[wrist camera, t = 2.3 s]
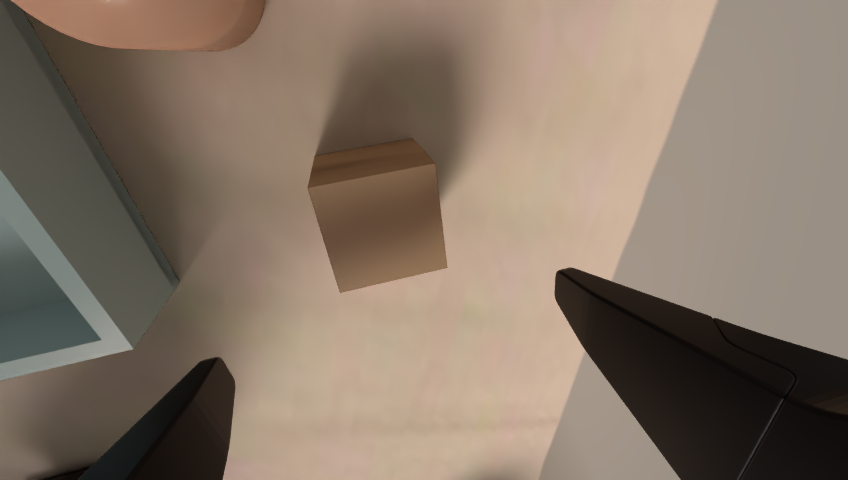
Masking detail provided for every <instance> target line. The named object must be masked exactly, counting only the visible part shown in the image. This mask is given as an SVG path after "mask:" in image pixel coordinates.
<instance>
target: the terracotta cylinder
mask: <svg viewBox="0 0 848 480" xmlns="http://www.w3.org/2000/svg"><path fill="white" fill-rule="evenodd" d="M11 1H13V2H14V3H15V4H16V5H18V6H19V7H20V8H22V9H23V10H24V11H26V12H27V13H28V14H30V15H32V16H33V17H35V18H36V19H38V20H39V21H41V22H42V23H44V24H46V25H48V26H50V27H52V28H53V29H55V30H57V31H59V32H61V33H63V34H66V35H68V36H71V37H73V38H76V39H78V40H81V41H84V42H88V43H91V44H94V45H99V46H104V47H110V48H122V49H149V50H184V51H223V50H227V49H231V48H233V47H236V46H238V45H240V44H241V43H243V42H244V41H246V40H247V39H248V38H249V37H250V36H251V35H252V34H253V32H254V31H255V30H256V28H257V26H258V25H259V22H260V20H261V18H262V14H263V10H264V4H265V0H11Z"/></svg>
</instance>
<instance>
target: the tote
mask: <svg viewBox="0 0 848 480" xmlns="http://www.w3.org/2000/svg"><path fill="white" fill-rule="evenodd" d="M179 283H180V281H179V280H178V278H177V276H176V275H175V273H174V271H173V269H172V268H171V266H170V264H169V262H168V261H167V259H166V257H165V256H164V254H163V252H162V250H161V249H160V247H159V245H158V243H157V242H156V240H155V238H154V237H153V235H152V233H151V231H150V230H149V228H148V226H147V224H146V223H145V221H144V219H143V218H142V216H141V214H140V212H139V211H138V209H137V207H136V205H135V204H134V202H133V200H132V198H131V197H130V195H129V193H128V192H127V190H126V188H125V186H124V185H123V183H122V181H121V179H120V178H119V176H118V174H117V173H116V171H115V169H114V167H113V166H112V164H111V162H110V160H109V159H108V157H107V155H106V154H105V152H104V150H103V148H102V147H101V145H100V143H99V141H98V140H97V138H96V136H95V135H94V133H93V131H92V129H91V128H90V126H89V124H88V122H87V121H86V119H85V117H84V116H83V114H82V112H81V110H80V109H79V107H78V105H77V103H76V102H75V100H74V98H73V97H72V95H71V93H70V91H69V90H68V88H67V86H66V84H65V83H64V81H63V79H62V78H61V76H60V74H59V72H58V71H57V69H56V67H55V65H54V64H53V62H52V60H51V58H50V57H49V55H48V53H47V52H46V50H45V48H44V46H43V45H42V43H41V41H40V39H39V38H38V36H37V34H36V33H35V31H34V29H33V27H32V26H31V24H30V22H29V20H28V19H27V17H26V15H25V14H24V12H23V10H22V8H20V7H19V6H18V5H16V4H15V3H14V2H13V1H11V0H0V381H1V380H6V379H10V378H14V377H18V376H23V375H27V374H31V373H35V372H39V371H44V370H48V369H52V368H56V367H61V366H65V365H69V364H73V363H77V362H82V361H86V360H90V359H94V358H99V357H103V356H107V355H111V354H115V353H120V352H124V351H128V350H132V349H134V348H135V347H136V345H137V344H138V342H139V341H140V339H141V338H142V336H143V335H144V334H145V332H146V331H147V329H148V328H149V326H150V325H151V323H152V322H153V321H154V319H155V318H156V316H157V315H158V313H159V312H160V310H161V309H162V308H163V306H164V305H165V303H166V302H167V300H168V299H169V297H170V296H171V295H172V293H173V292H174V290H175V289H176V287H177V286H178V284H179Z"/></svg>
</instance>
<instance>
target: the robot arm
mask: <svg viewBox="0 0 848 480" xmlns="http://www.w3.org/2000/svg"><path fill="white" fill-rule="evenodd" d="M555 299H556V301H557V303H558V305H559V307H560V309H561V310H562V312H563V314H564V315H565V317H566V319H567V321H568V322H569V324H570V326H571V327H572V329H573V331H574V333H575V334H576V336H577V338H578V339H579V341H580V343H581V344H582V346H583V347H584V349H585V350H586V352H587V353H588V354H589V356H590V357H591V359H592V360H593V361H594V363H595V364H596V365H597V367H598V368H599V369H600V370H601V372H602V373H603V375H604V376H605V378H606V379H607V380H608V382H609V383H610V384H611V386H612V387H613V388H614V390H615V391H616V392H617V394H618V395H619V397H620V398H621V399H622V400H623V402H624V403H625V405H626V406H627V407H628V409H629V410H630V411H631V413H632V414H633V416H634V417H635V418H636V420H637V421H638V422H639V424H640V425H641V426H642V428H643V429H644V430H645V432H646V433H647V434H648V436H649V437H650V438H651V440H652V441H653V442H654V444H655V445H656V447H657V448H658V449H659V450H660V452H661V453H662V455H663V456H664V457H665V459H666V460H667V462H668V463H669V464H670V466H671V467H672V468H673V470H674V471H675V472H676V474H677V475H678V476H679V478H680V479H681V480H848V360H847V359H843V358H840V357H837V356H834V355H830V354H827V353H823V352H820V351H817V350H813V349H810V348H807V347H803V346H800V345H796V344H793V343H790V342H786V341H783V340H780V339H777V338H773V337H770V336H767V335H763V334H761V333H757V332H755V331H752V330H749V329H745V328H743V327H740V326H737V325H734V324H731V323H728V322H725V321H722V320H720V319H717V318H712V317H711V316H708V315H706V314H703V313H700V312H697V311H694V310H691V309H688V308H686V307H683V306H680V305H677V304H674V303H671V302H669V301H666V300H663V299H660V298H657V297H654V296H652V295H649V294H645V293H643V292H640V291H637V290H634V289H632V288H629V287H626V286H623V285H620V284H617V283H615V282H612V281H609V280H606V279H603V278H600V277H598V276H595V275H592V274H589V273H586V272H583V271H581V270H578V269H575V268H566V269H562V270H559V271H557V273H556V277H555ZM234 396H235V381H234V378H233V376H232V374H231V373H230V371H229V369H228V368H227V366H226V364H225V363H224V361H223V360H222V359H221V358H220V357H214V358H210V359H206V360H203V361H201V362H199V363H198V364H197V365H196V366H195V367H194V368H193V369H192V370H191V371H190V372H189V373H188V374H187V375H186V376H185V377H184V378H183V379H182V380H181V381H180V382H179V383H177V384H176V385H175V386H174V387H173V388H172V389H171V390H170V391H169V392H168V393H167V394H166V395H165V396H164V397H163V398H162V399H161V400H160V401H159V402H158V403H157V404H156V405H155V406H154V407H153V408H152V409H150V410H149V411H148V412H147V413H146V414H145V415H144V416H143V417H142V418H141V419H140V420H139V421H138V422H137V423H136V424H135V425H134V426H133V427H132V428H131V429H130V430H129V431H128V432H127V433H126V434H125V435H123V436H122V437H121V438H120V439H119V440H118V441H117V442H116V443H115V444H114V445H113V446H112V447H111V448H110V449H109V450H108V451H107V452H106V453H105V454H104V455H103V456H102V457H101V458H100V459H99V460H98V461H96V462H95V463H94V464H93V465H92V466H91V467H89V468H85V469H82V470H78V471H74V472H71V473H67V474H63V475H60V476H56V477H52V478H48V479H45V480H222V479H223V475H224V470H225V465H226V461H227V456H228V450H229V444H230V436H231V426H232V416H233V406H234Z"/></svg>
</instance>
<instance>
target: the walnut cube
mask: <svg viewBox="0 0 848 480" xmlns="http://www.w3.org/2000/svg"><path fill="white" fill-rule="evenodd" d="M308 191H309V194H310V197H311V201H312V204H313V207H314V210H315V214H316V217H317V220H318V223H319V227H320V230H321V233H322V236H323V240H324V243H325V246H326V249H327V253H328V256H329V259H330V262H331V266H332V269H333V272H334V275H335V279H336V282H337V285H338V288H339V292H340V293H342V292H346V291H350V290H354V289H359V288H363V287H367V286H371V285H376V284H380V283H384V282H389V281H393V280H397V279H401V278H406V277H410V276H414V275H419V274H423V273H427V272H431V271H436V270H440V269H444V268H447V261H446V252H445V244H444V235H443V226H442V218H441V209H440V200H439V192H438V183H437V175H436V166H435V163H434V162H433V160H432V159H431V158H430V157H429V156H428V155H427V154H426V153H425V152H424V151H423V149H422V148H421V147H420V146H419V145H418V144H417V143H416V142H415V141H414V140H413V138H410V139H405V140H400V141H394V142H389V143H383V144H378V145H372V146H367V147H361V148H356V149H350V150H345V151H339V152H334V153H328V154H323V155H317V156H315V157H314V162H313V166H312V171H311V175H310V180H309V184H308Z"/></svg>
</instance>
